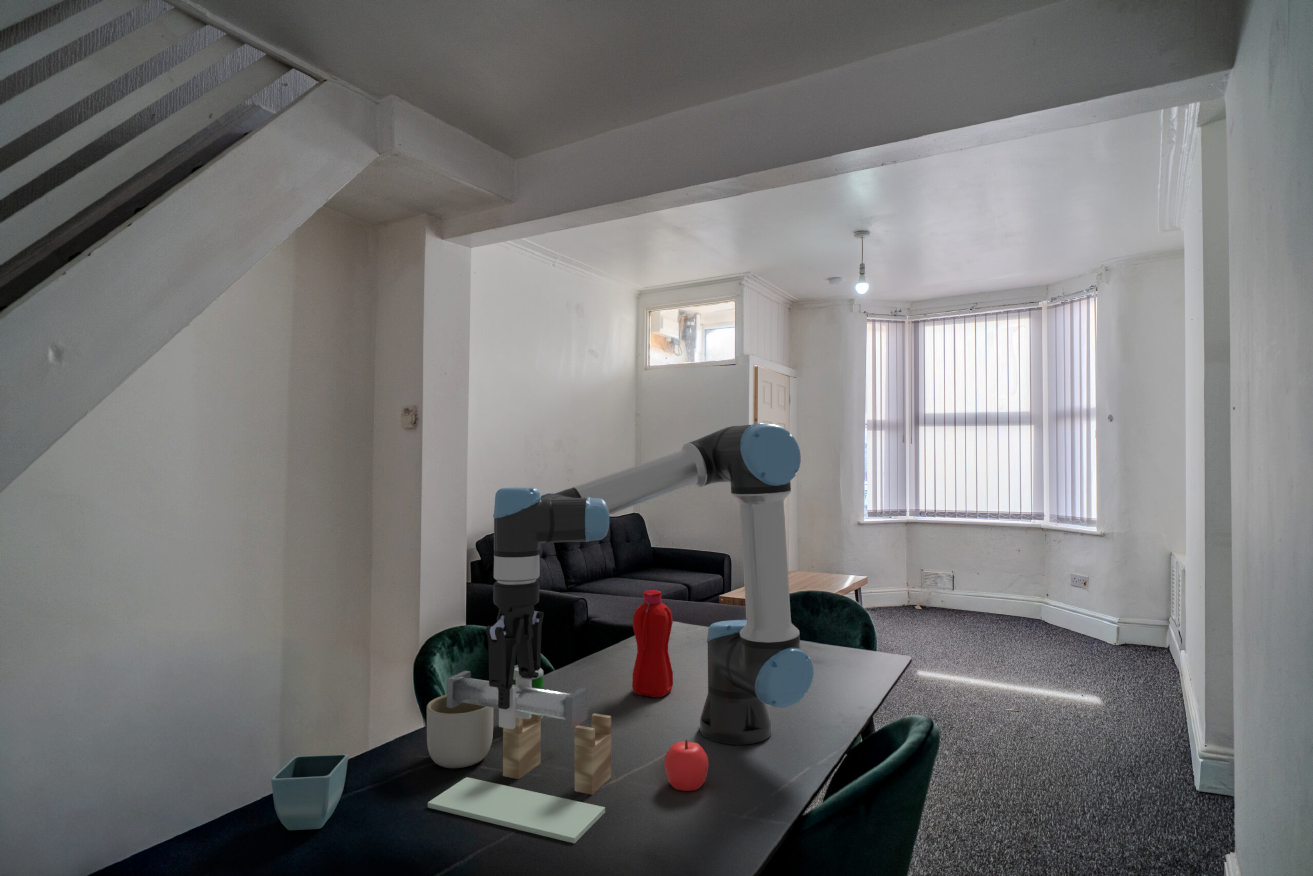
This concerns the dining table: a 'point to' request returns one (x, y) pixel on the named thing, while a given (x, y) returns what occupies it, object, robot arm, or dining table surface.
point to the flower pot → (309, 790)
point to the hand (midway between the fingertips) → (515, 721)
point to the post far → (522, 747)
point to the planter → (458, 733)
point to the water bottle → (652, 647)
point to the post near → (593, 754)
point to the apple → (686, 766)
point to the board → (519, 809)
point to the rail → (520, 699)
